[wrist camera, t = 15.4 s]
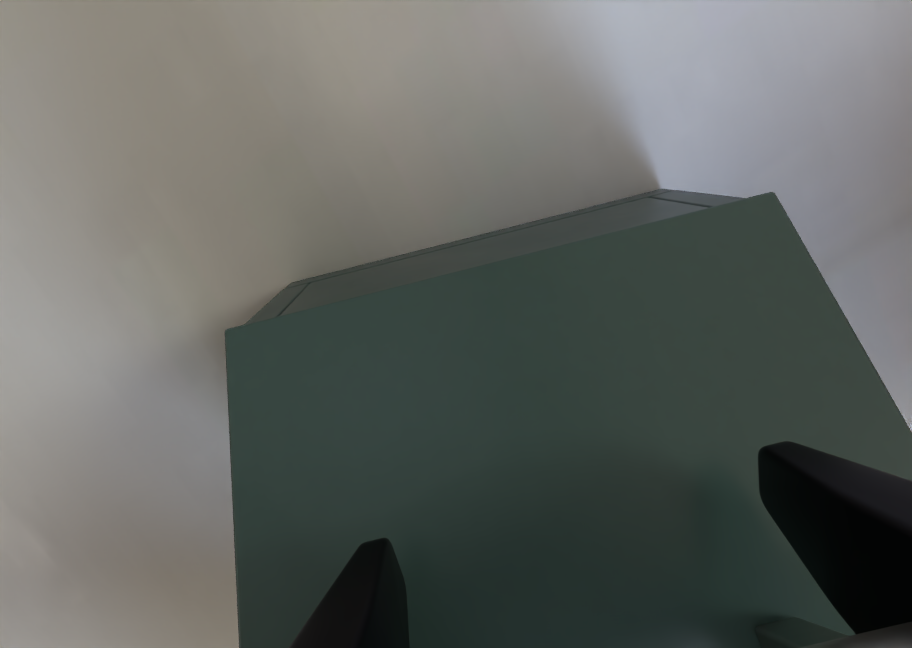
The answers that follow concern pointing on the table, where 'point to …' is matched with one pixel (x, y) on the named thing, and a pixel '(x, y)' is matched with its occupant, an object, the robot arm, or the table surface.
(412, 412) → the lid
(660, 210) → the dark green toolbox
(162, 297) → the table surface
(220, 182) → the table surface
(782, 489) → the robot arm
